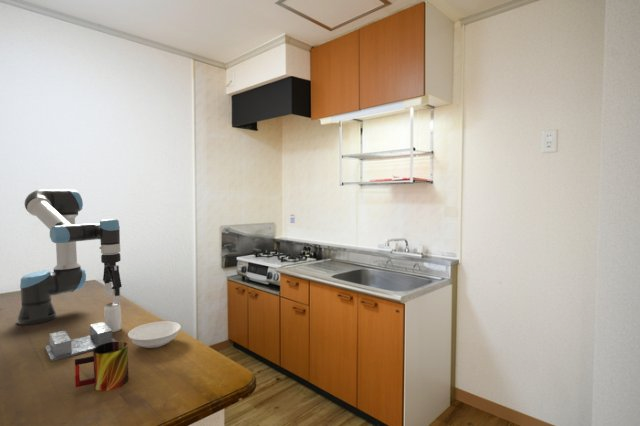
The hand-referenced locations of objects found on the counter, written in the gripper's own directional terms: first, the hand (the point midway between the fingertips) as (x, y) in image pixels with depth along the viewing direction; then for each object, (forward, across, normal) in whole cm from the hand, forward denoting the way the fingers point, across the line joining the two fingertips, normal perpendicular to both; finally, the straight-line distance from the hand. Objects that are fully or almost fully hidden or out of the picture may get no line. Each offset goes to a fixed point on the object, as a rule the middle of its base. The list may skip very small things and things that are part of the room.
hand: (112, 299), depth 160 cm
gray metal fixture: (+14, +10, -14) cm, 22 cm away
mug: (+15, +50, -15) cm, 55 cm away
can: (+14, 0, 0) cm, 14 cm away
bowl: (+15, +30, +8) cm, 34 cm away
